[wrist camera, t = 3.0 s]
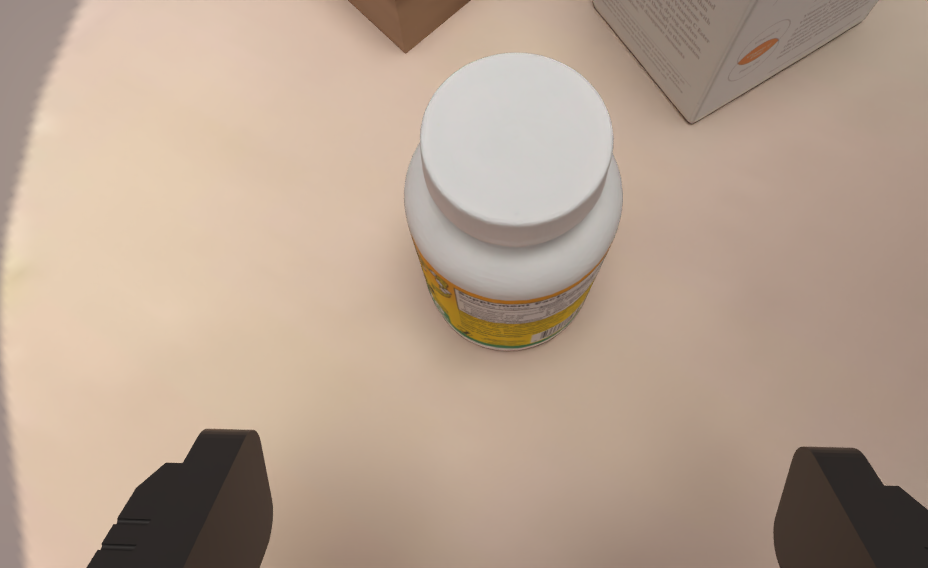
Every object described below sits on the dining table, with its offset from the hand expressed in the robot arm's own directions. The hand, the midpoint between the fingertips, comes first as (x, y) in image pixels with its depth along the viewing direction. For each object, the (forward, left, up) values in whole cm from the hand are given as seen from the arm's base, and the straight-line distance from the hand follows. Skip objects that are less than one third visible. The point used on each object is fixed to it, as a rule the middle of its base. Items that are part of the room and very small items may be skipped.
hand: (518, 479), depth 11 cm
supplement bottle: (-3, -6, -12) cm, 13 cm away
